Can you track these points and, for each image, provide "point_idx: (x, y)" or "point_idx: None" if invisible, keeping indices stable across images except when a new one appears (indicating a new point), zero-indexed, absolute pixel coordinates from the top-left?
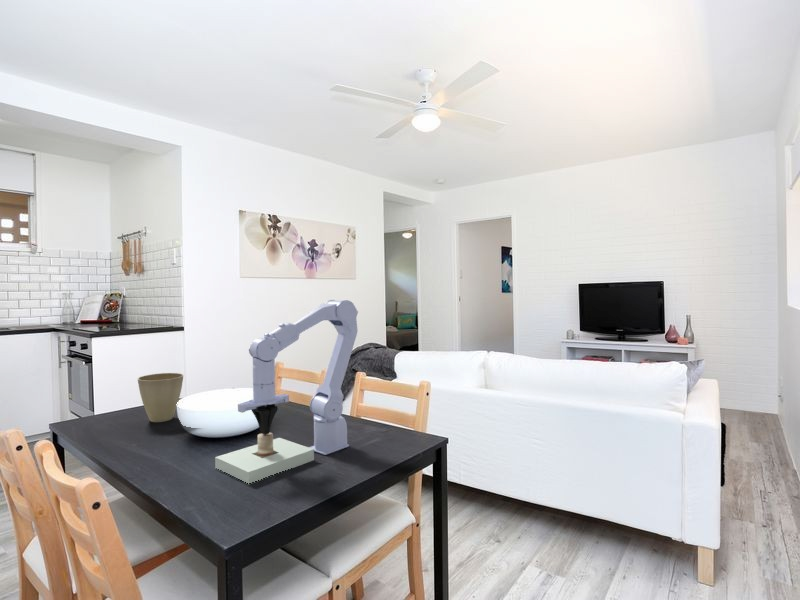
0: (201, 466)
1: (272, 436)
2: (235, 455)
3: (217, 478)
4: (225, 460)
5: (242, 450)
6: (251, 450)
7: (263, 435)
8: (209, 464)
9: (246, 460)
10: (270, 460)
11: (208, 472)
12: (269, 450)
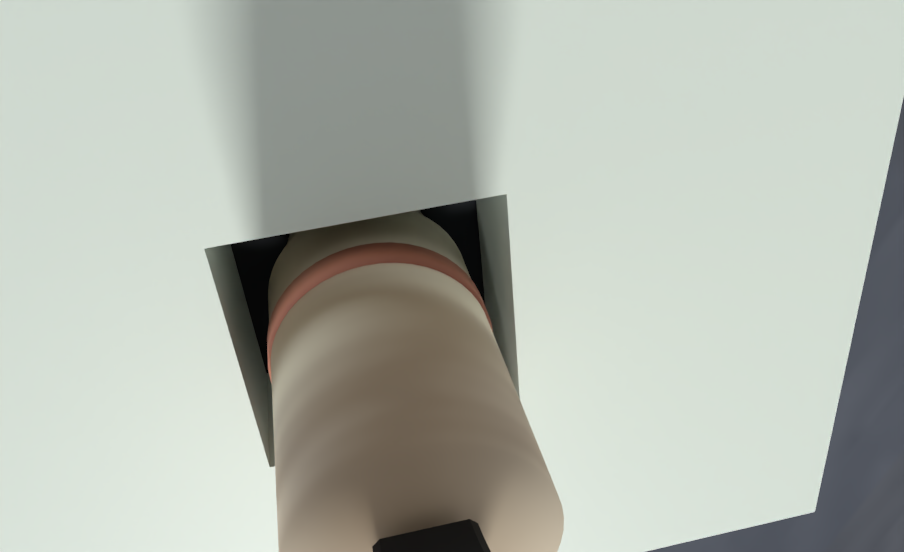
0: (789, 519)
1: (321, 462)
2: (669, 456)
3: (895, 209)
4: (822, 383)
5: None
6: None
7: None
8: None
9: (691, 247)
10: (472, 23)
11: None
12: (378, 283)
